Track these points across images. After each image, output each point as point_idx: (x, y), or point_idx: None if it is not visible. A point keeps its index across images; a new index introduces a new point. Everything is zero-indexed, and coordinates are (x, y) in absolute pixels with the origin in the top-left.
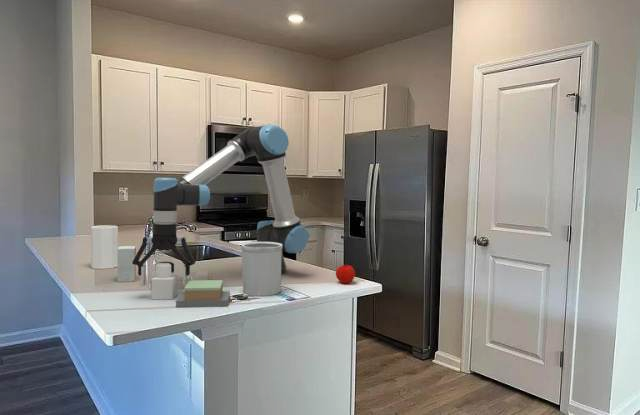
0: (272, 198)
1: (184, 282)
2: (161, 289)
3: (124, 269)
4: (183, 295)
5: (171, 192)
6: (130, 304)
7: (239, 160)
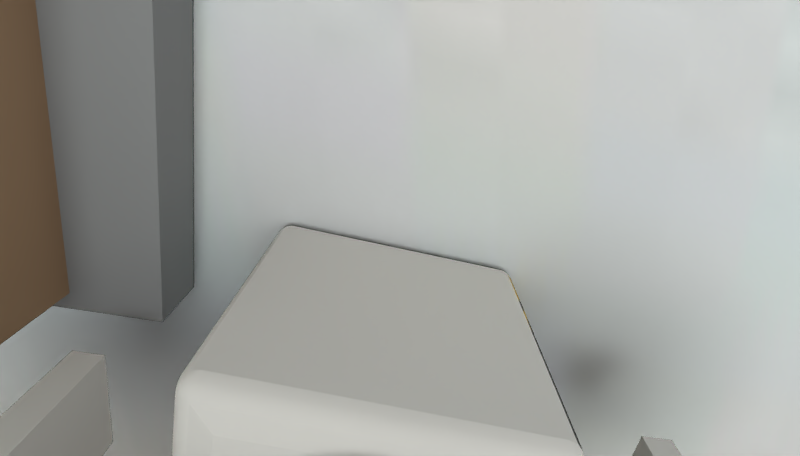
0: None
1: (46, 386)
2: (400, 305)
3: None
4: (104, 131)
5: None
6: (742, 120)
7: None
